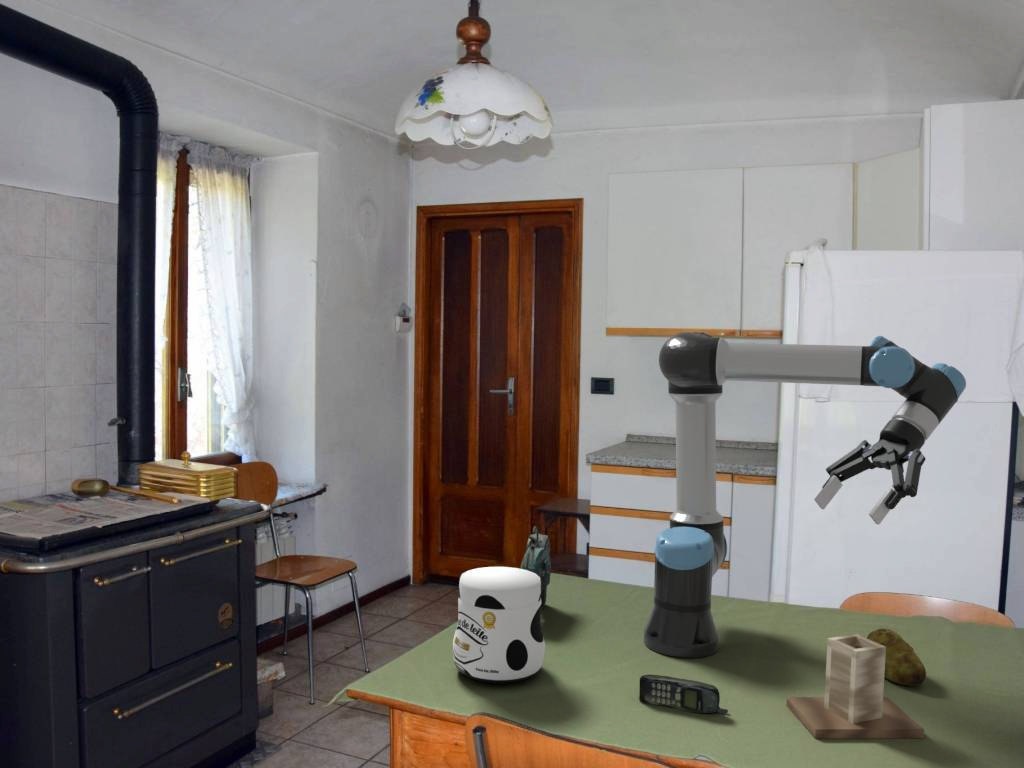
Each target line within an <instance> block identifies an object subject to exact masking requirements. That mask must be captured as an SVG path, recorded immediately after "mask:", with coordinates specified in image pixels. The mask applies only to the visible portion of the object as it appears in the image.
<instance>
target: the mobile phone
mask: <svg viewBox="0 0 1024 768" xmlns="http://www.w3.org/2000/svg"><path fill="white" fill-rule="evenodd" d="M718 689H719V688H717V686H715V685H714V684H710V683H707V682H706V683H705V682H702V681H697V680H691V679H686V678H679V677H673V676H667V675H659V674H643V675H641V676H640V677H639V693H638V694H639V695H638V697H639V698H638V700H639V702H641V703H645V704H649V705H654V706H655V705H656V706H661V707H665V708H671V709H676V710H681V711H685V712H690V713H695V714H713V713H715V712H716V713H720V714H728V712H729V710H728V709H726V708H721V707H720V700H721V699H720V697H721V696H720V691H719V690H718Z"/></svg>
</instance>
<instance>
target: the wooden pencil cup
mask: <svg viewBox="0 0 1024 768" xmlns="http://www.w3.org/2000/svg"><path fill="white" fill-rule="evenodd" d="M826 644H827V645H826V663H825V665H826V666H825V683H824V684H825V685H824V697H825V700H824V708H826V709H828V710H830V711H831V712H833V713H835V714H837V715H839V716H840V717H842V718H844V719H846V720H847V721H849V722H851V723H853V724H854V723H858V722H863V721H868V720H873V719H877V718H882V710H883V697H884V688H885V677H884V673H885V655H886V647H885V646H883V645H881V644H878V643H876V642H874V641H871V640H869V639H867V637H864V636H862V635H860V634H859V633H855V634H854V633H853V634H846V635H842V636H841V635H840V636H832V637H827V643H826Z"/></svg>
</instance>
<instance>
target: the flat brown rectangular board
mask: <svg viewBox="0 0 1024 768" xmlns="http://www.w3.org/2000/svg"><path fill="white" fill-rule="evenodd" d="M824 700H825V696H822V697H821V696H815V697H814V696H804V697H803V696H801V697H799V696H788V697H786V704H785V705H786V707H787V708H788V709H789V710H790V712H791V713H792V714H793V715H794V716H795V718H797V719H798V721H799V722H800V723H801V724H802V726H804V728H805V729H806V730H807V731H808V732H809V734H811V736H812V737H813V738H814V739H819V740H821V739H824V740H825V739H924V736H925V728H924V727H922V726H921V725H920V724H919V723H918V722H917V721H915V720H914V719H913V718H912V717H911V716H910V715H908V714H907V713H906V711H904V710H903V709H901V708H900V707H899V706H898V705H897V704H895V703H894V702H893V701H892V700H891V699H890V698H889V697H888V696H883V710H882V718H877V719H873V720H868V721H863V722H858V723H854V724H853V723H851V722H849V721H847V720H846V719H844V718H842V717H840V716H839V715H837V714H835V713H833V712H831V711H830V710H828V709H826V708H824Z"/></svg>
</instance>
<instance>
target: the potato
mask: <svg viewBox="0 0 1024 768" xmlns="http://www.w3.org/2000/svg"><path fill="white" fill-rule="evenodd" d="M866 638H867V639H869V640H871V641H874V642H876V643H878V644H881V645H883V646H885V647H886V655H885V673H884V679H887V680H889V681H891V682H893V683H896V684H900V685H903V686H908V687H915V686H919V685H922V684H923V683H924V682H925V679H926V677H927V670H926V667H925V665H924V664H923V662H922V661H921V658H920V657H919V656H918V655H917V653H916V652H915V650H914V648H913V647H912V646H911V645H910V644H909V643H908V642H907V641H906V640H905V639H903V638H902V636H901V635H900V634H899V633H897V632H896V631H894V630H891V629H890V628H878V629H875V630H872V631H871V632H870V633H869V634H868V635H867V637H866Z"/></svg>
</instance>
